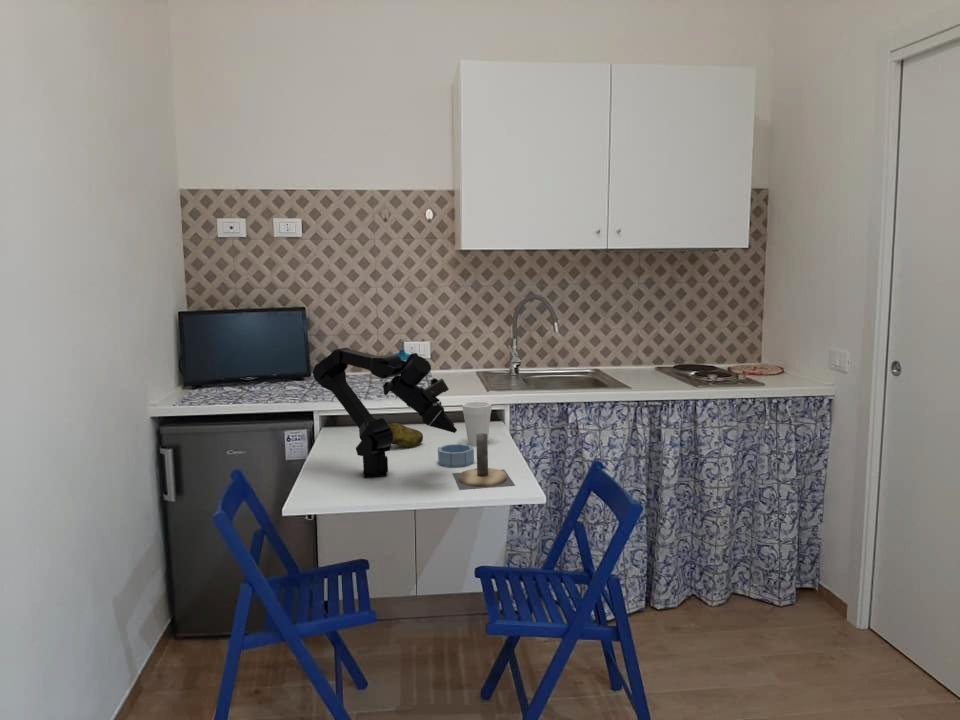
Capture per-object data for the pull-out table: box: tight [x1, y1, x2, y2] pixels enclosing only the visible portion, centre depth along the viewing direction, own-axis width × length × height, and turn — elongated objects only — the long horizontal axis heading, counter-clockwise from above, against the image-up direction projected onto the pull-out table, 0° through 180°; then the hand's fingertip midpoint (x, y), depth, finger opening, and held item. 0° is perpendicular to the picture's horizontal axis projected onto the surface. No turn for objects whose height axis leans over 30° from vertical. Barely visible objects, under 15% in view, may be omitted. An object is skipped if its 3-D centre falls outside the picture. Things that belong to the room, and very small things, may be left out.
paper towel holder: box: [459, 433, 507, 487], centre depth 200 cm, size 13×13×12 cm
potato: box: [387, 422, 424, 448], centre depth 238 cm, size 8×13×8 cm, turn 98°
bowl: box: [437, 443, 475, 468], centre depth 218 cm, size 10×10×4 cm
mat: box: [451, 469, 516, 491], centre depth 201 cm, size 15×15×1 cm
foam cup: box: [462, 400, 492, 447], centre depth 239 cm, size 10×9×13 cm
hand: (454, 428), depth 201 cm, fingers open, 9 cm apart
